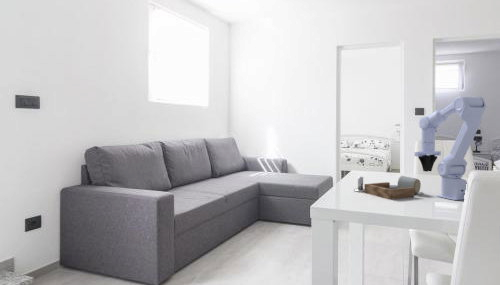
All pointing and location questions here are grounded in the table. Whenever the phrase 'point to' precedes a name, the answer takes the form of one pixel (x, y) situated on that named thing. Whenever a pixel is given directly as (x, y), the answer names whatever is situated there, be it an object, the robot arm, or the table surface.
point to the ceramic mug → (409, 183)
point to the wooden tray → (388, 191)
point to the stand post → (360, 185)
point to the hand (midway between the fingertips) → (427, 171)
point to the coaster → (393, 187)
